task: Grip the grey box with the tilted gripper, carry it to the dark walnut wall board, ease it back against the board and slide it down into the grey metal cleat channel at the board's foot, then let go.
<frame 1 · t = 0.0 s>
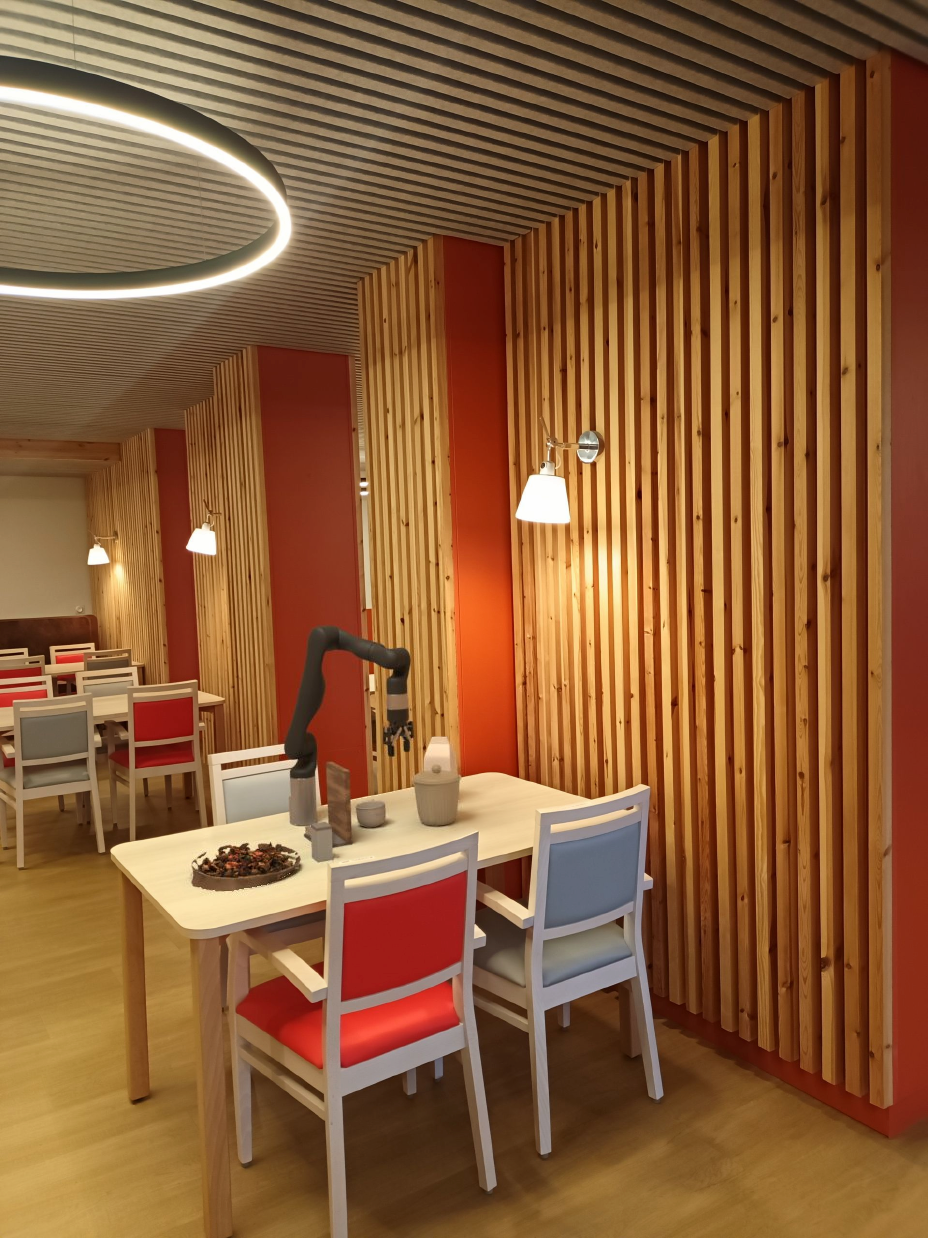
hand: (399, 754, 309), 29 cm above the table, tool pointing down, fingers open, 8 cm apart
wall board: (327, 840, 311), on the table
teacup: (372, 824, 330), on the table
milk: (441, 803, 358), on the table
grey box: (322, 858, 291), on the table
food dish: (244, 873, 281), on the table
canister: (438, 822, 330), on the table
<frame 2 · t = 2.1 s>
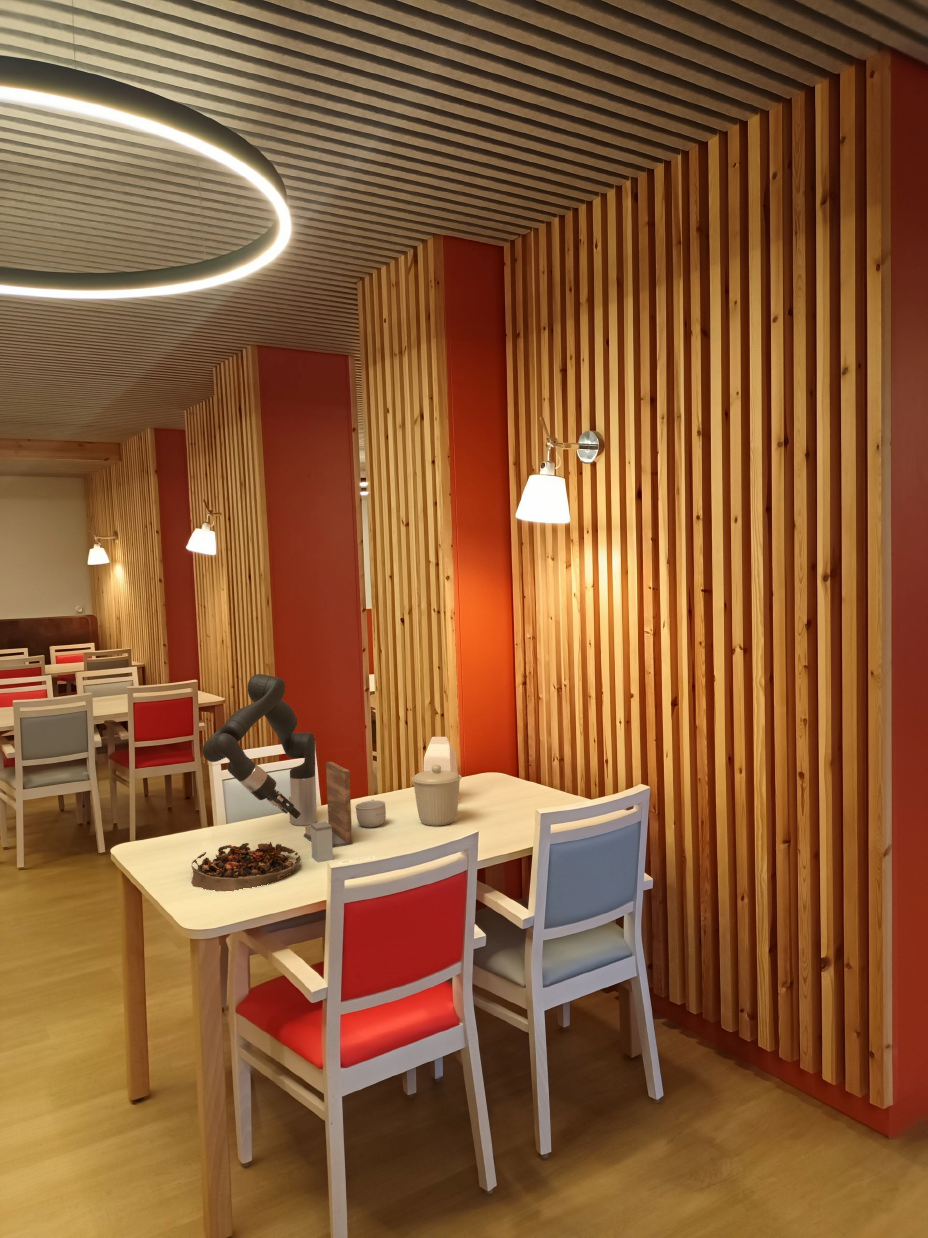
hand: (293, 813, 286), 16 cm above the table, tool tilted 45°, fingers open, 8 cm apart
nothing on the table moved.
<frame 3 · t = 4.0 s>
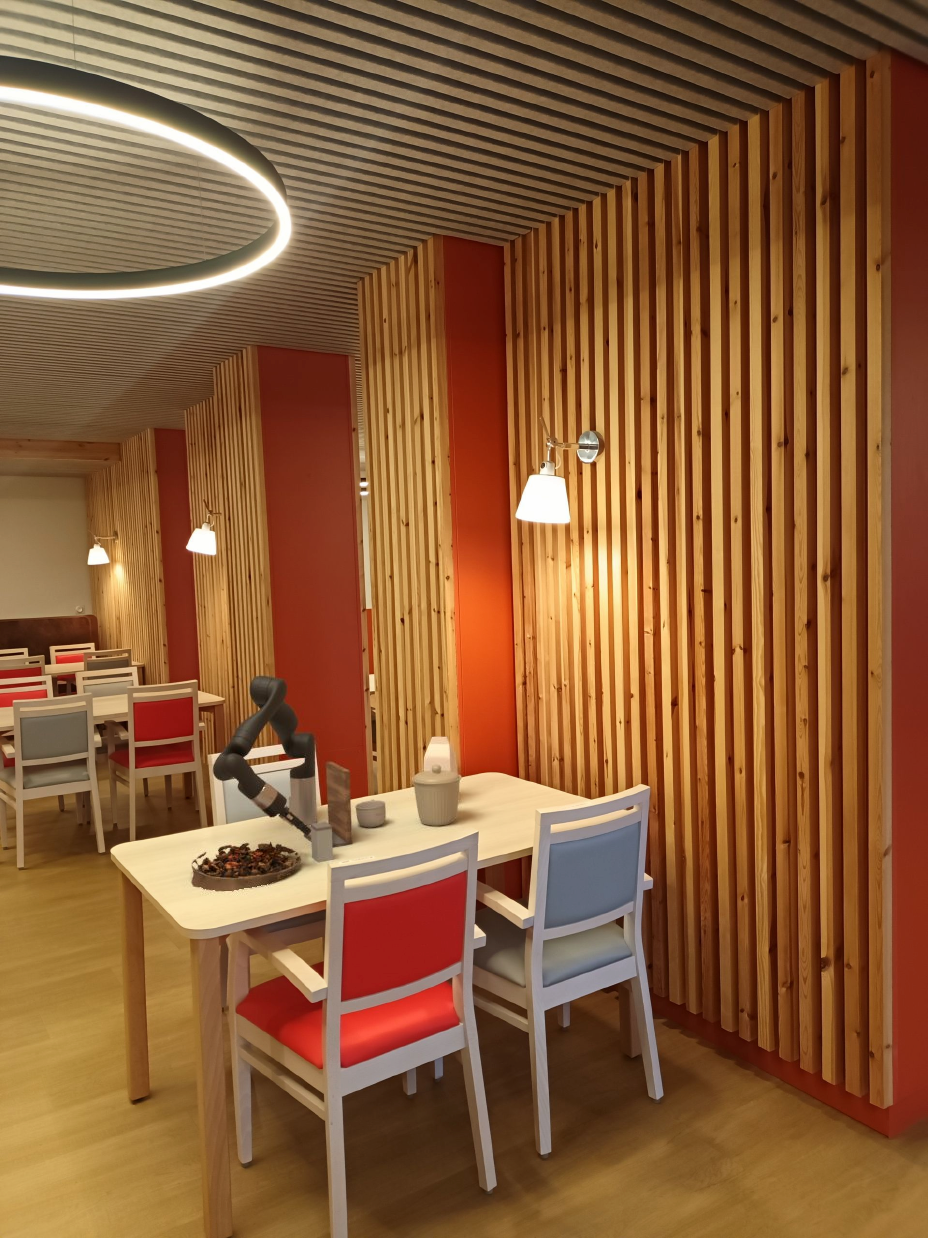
hand: (305, 829, 289), 10 cm above the table, tool tilted 45°, fingers open, 8 cm apart
nothing on the table moved.
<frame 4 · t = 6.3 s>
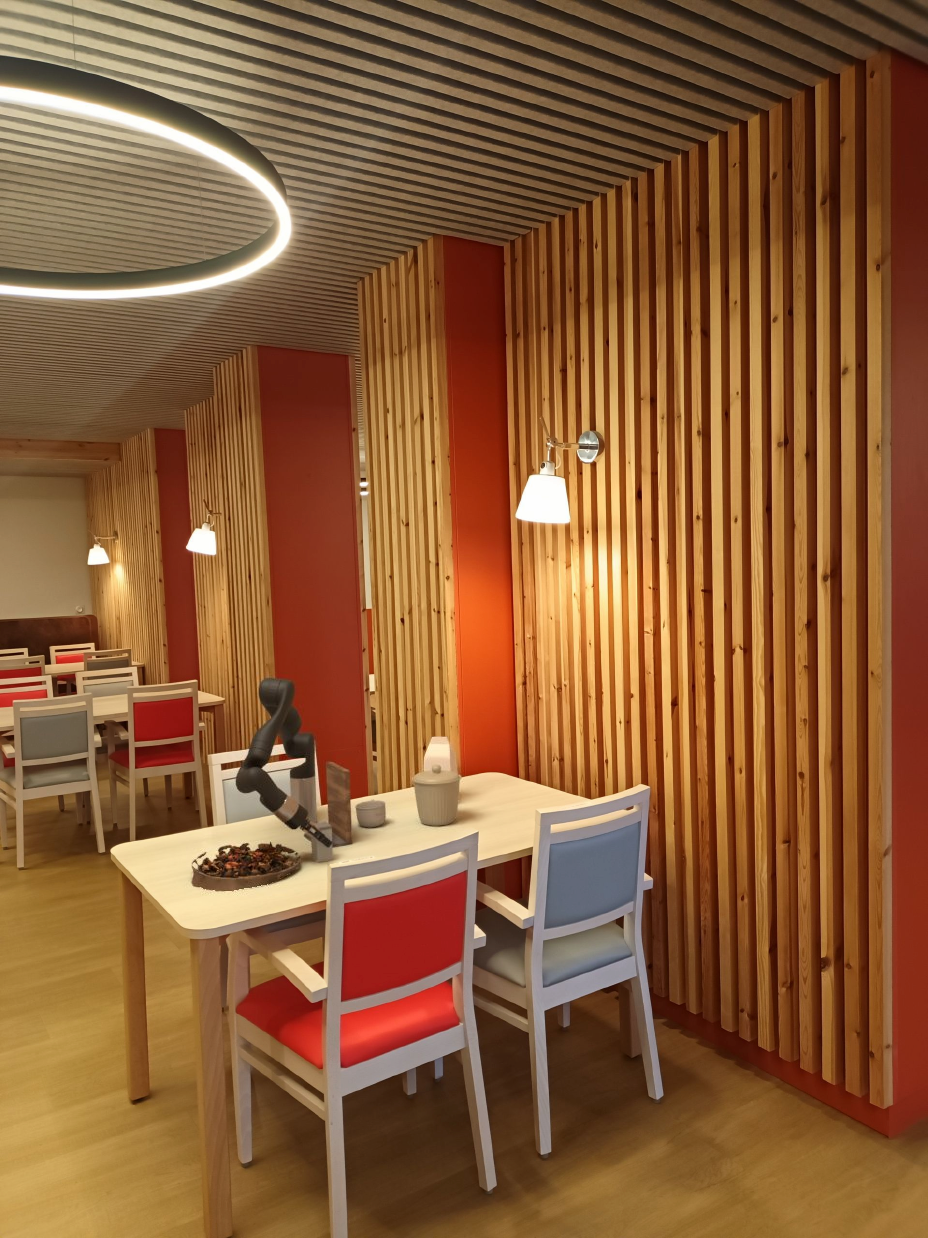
hand: (326, 842, 292), 5 cm above the table, tool tilted 45°, fingers closed on grey box, 6 cm apart
grey box: (322, 858, 291), on the table, touching gripper
everything else where it was.
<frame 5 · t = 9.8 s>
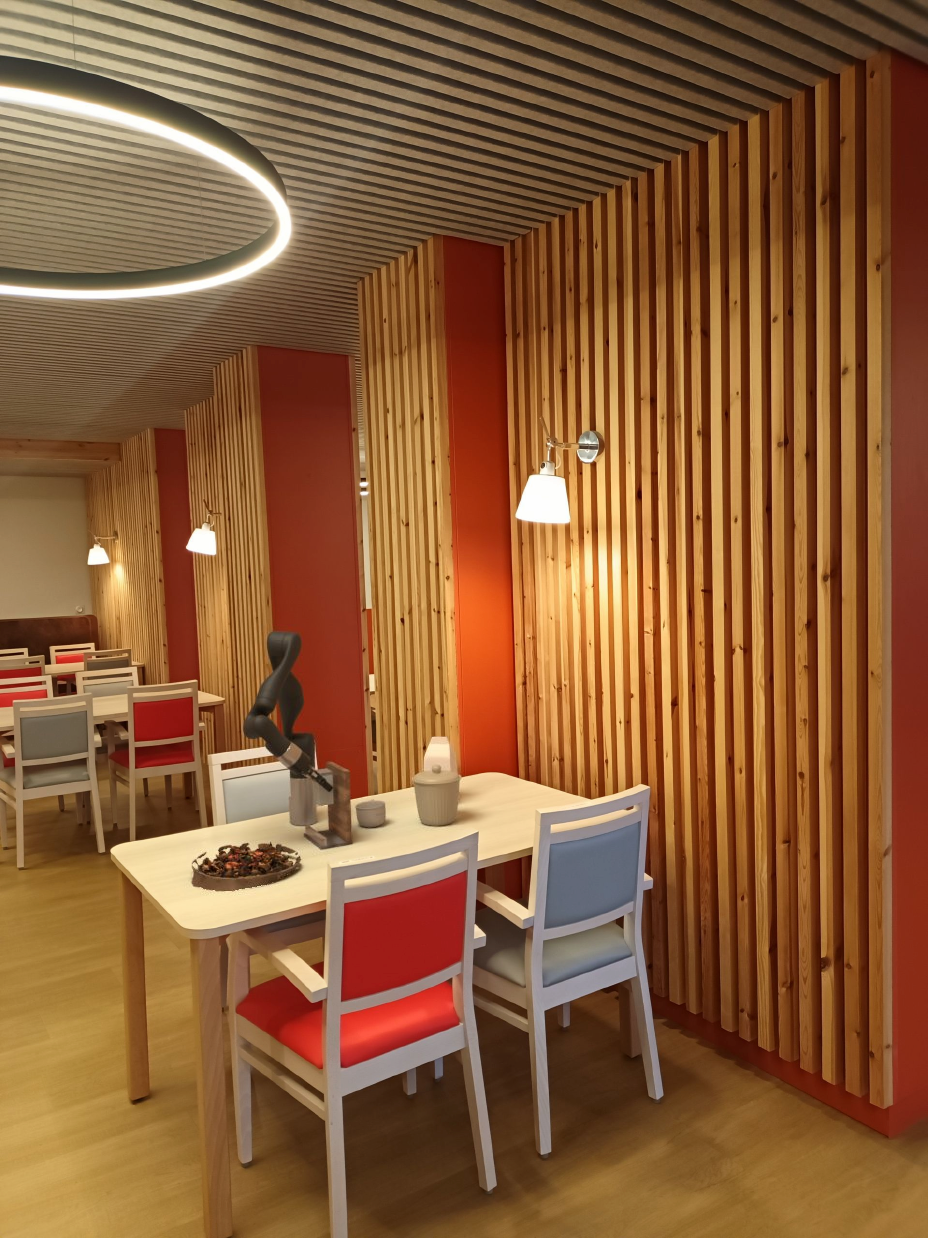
hand: (327, 787, 311), 18 cm above the table, tool tilted 45°, fingers closed on grey box, 6 cm apart
grey box: (323, 802, 310), point 13 cm above the table, touching gripper
everything else where it was.
when the fingers open (7 cm above the table, at t = 13.3 s): grey box drops 1 cm, resting on wall board.
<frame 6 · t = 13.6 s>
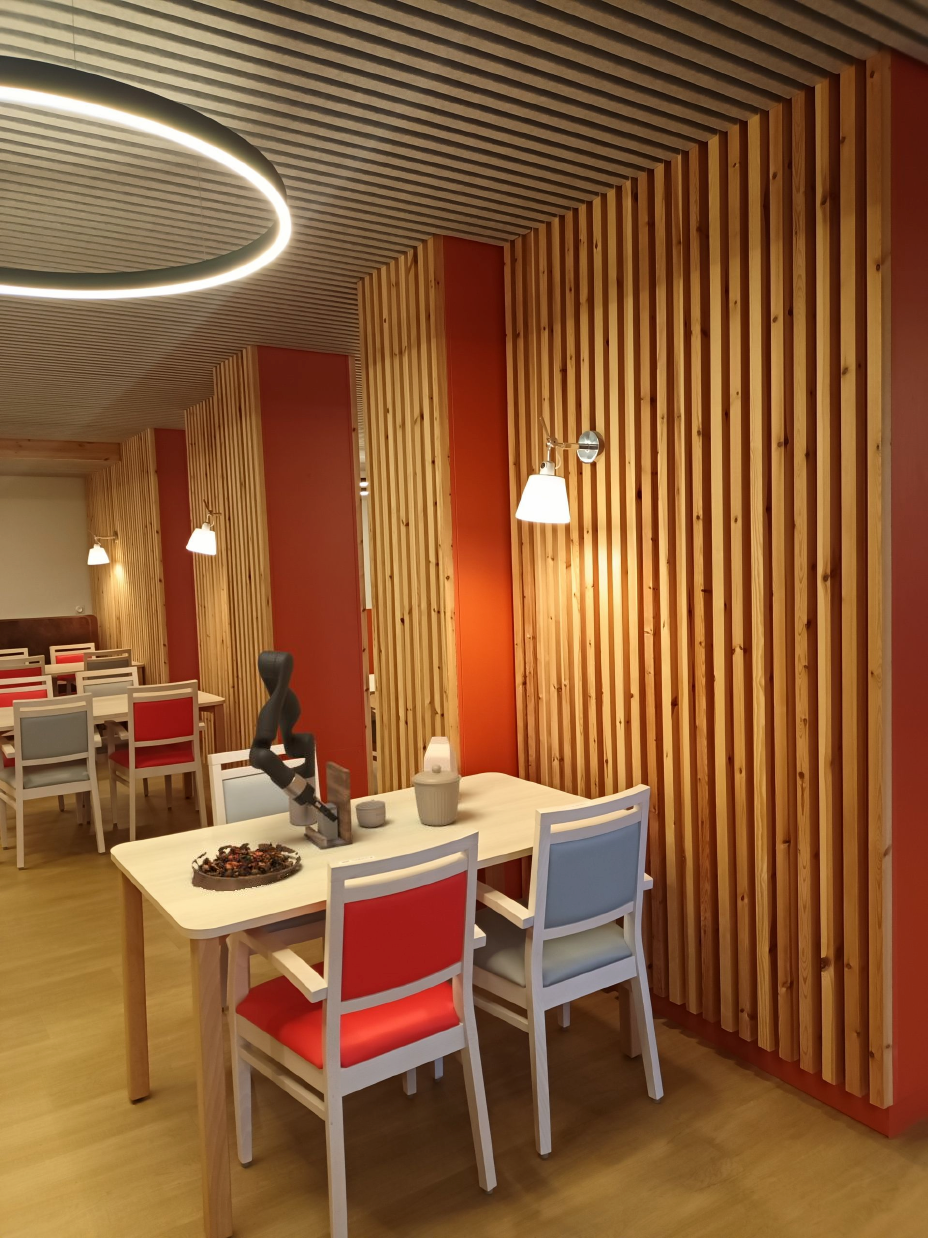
hand: (331, 817, 312), 8 cm above the table, tool tilted 45°, fingers open, 8 cm apart
grey box: (327, 837, 311), point 1 cm above the table, touching wall board
everything else where it was.
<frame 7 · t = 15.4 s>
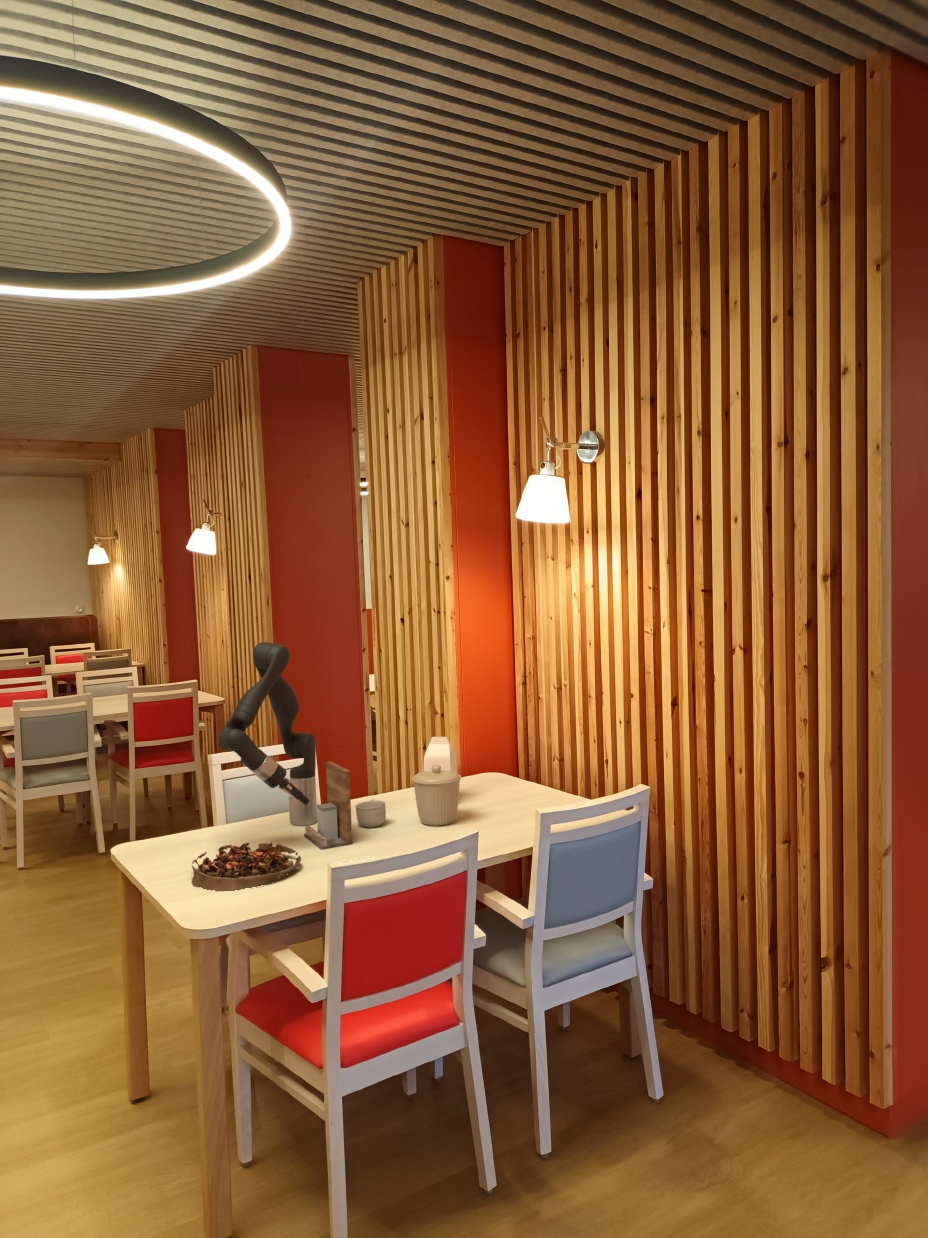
hand: (303, 800, 307), 15 cm above the table, tool tilted 45°, fingers open, 8 cm apart
nothing on the table moved.
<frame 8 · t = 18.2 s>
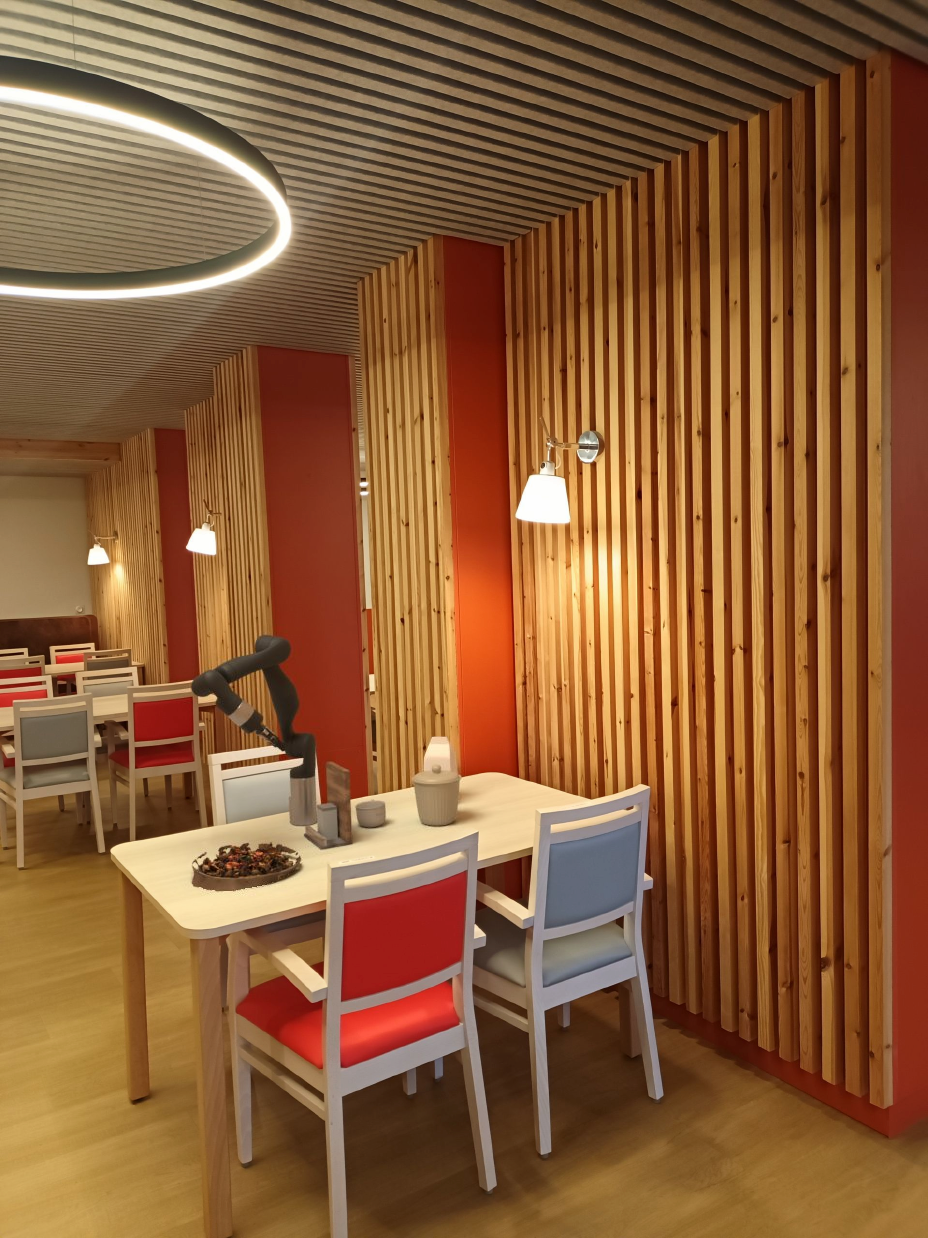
hand: (281, 747, 299), 35 cm above the table, tool tilted 45°, fingers open, 8 cm apart
nothing on the table moved.
at the end: grey box inside the target area on the wall board (0.1 cm from its centre), point 1.0 cm above the wall board's base; grey box tilted 0°; the gripper is holding nothing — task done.
